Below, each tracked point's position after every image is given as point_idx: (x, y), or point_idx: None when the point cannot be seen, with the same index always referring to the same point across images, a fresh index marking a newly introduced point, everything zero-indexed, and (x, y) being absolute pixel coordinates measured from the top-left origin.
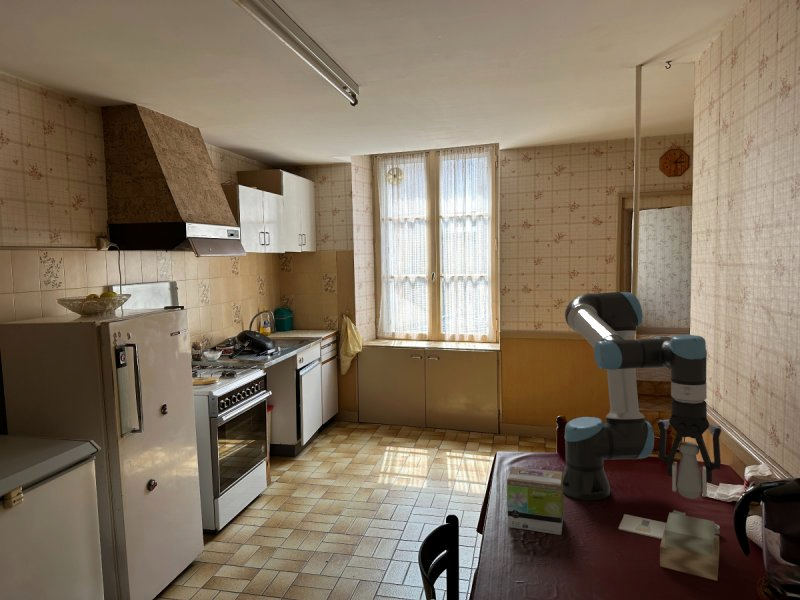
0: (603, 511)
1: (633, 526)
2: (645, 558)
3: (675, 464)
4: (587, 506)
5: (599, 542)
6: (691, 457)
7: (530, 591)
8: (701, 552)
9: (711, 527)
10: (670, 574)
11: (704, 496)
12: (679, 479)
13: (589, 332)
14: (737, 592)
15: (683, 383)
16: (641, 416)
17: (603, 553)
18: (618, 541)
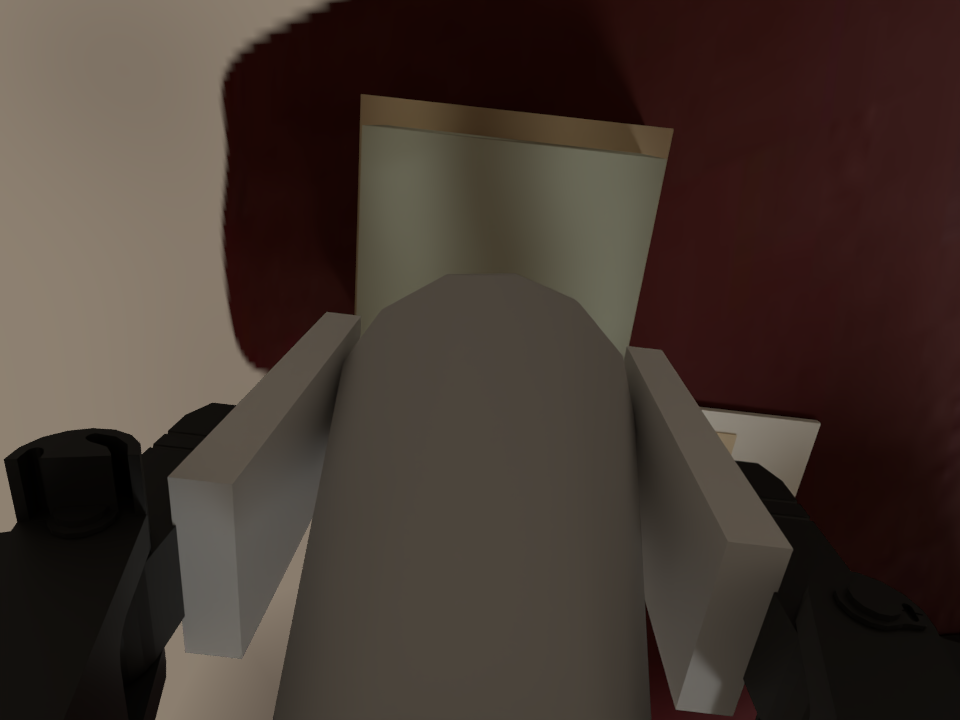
0: (869, 563)
1: (743, 460)
2: (712, 180)
3: (716, 607)
4: (945, 586)
5: (940, 256)
6: (380, 715)
7: None
8: (441, 131)
9: (368, 313)
10: (601, 64)
11: (344, 316)
12: (615, 391)
13: None
14: (301, 24)
15: None
16: None
17: (936, 144)
18: (833, 302)
